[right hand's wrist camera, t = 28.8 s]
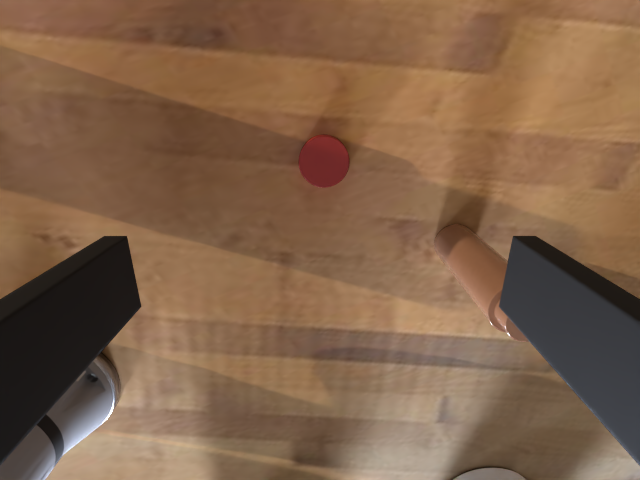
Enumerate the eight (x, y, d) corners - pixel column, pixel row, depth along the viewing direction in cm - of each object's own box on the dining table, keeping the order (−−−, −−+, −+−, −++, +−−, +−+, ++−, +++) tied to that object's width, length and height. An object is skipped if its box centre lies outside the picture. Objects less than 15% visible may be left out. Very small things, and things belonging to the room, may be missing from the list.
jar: (481, 232, 40) (575, 306, 25) (461, 266, 41) (538, 355, 27) (446, 218, 39) (521, 285, 25) (426, 253, 41) (486, 336, 26)
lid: (290, 150, 37) (289, 153, 35) (332, 125, 36) (333, 126, 34) (315, 191, 38) (315, 196, 36) (356, 168, 37) (358, 171, 35)
